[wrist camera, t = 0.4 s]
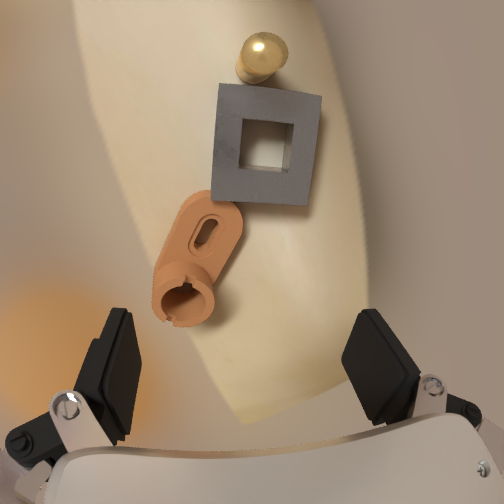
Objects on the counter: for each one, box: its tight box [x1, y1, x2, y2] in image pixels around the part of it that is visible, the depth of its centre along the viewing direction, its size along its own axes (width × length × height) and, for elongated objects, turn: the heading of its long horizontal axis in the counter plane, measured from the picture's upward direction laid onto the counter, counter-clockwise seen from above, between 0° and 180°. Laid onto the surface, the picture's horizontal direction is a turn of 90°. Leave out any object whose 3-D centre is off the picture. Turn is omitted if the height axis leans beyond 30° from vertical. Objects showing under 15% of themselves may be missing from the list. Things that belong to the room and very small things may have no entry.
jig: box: [210, 83, 322, 206], centre depth 33 cm, size 14×12×4 cm
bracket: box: [152, 190, 243, 327], centre depth 37 cm, size 18×8×7 cm, turn 151°
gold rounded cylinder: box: [236, 32, 288, 84], centre depth 26 cm, size 4×4×9 cm
